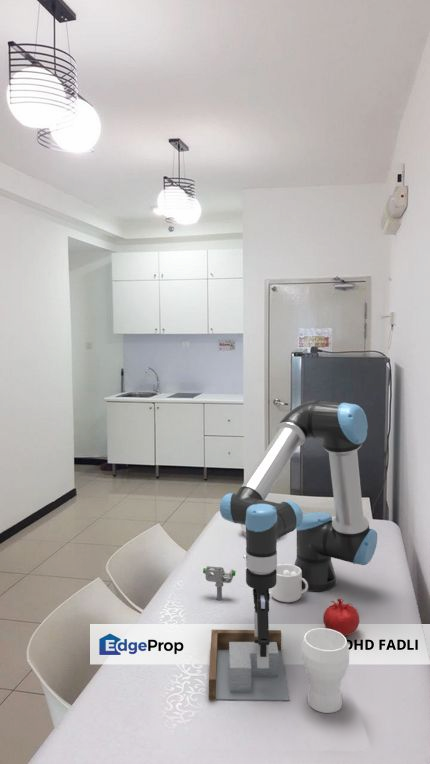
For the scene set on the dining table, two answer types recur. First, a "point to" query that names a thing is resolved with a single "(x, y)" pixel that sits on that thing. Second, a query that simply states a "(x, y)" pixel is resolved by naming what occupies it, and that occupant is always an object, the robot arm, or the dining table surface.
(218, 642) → the corner walls
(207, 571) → the mechanical component
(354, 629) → the pomegranate
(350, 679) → the dining table surface
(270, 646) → the bracket
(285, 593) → the mug
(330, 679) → the cup
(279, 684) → the slate mat
